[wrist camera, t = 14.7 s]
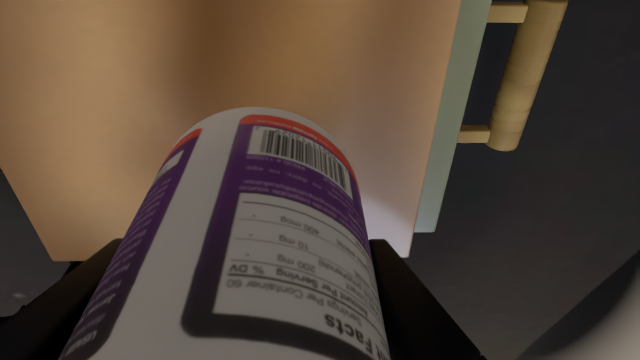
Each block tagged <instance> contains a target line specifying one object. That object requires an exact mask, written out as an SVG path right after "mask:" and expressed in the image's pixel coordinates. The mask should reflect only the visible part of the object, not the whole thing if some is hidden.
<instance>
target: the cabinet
mask: <svg viewBox="0 0 640 360" xmlns="http://www.w3.org/2000/svg"><path fill="white" fill-rule="evenodd" d="M460 5H461V0H0V167H1V169H2V171H3V173H4V174H5V176H6V178H7V180H8V182H9V183H10V185H11V187H12V189H13V191H14V192H15V194H16V196H17V198H18V200H19V201H20V203H21V205H22V207H23V208H24V210H25V212H26V214H27V216H28V217H29V219H30V221H31V223H32V225H33V226H34V228H35V230H36V232H37V234H38V235H39V237H40V239H41V241H42V243H43V244H44V246H45V248H46V250H47V252H48V253H49V255H50V257H51V259H52V260H53V261H86V260H87V259H88V258H90V257H91V256H92V255H94V254H95V253H96V252H97V251H99V250H100V249H101V248H103V247H104V246H105V245H107V244H108V243H109V242H111V241H112V240H114V239H116V238H124V236H125V234H126V232H127V230H128V228H129V226H130V224H131V223H132V221H133V219H134V217H135V215H136V213H137V211H138V210H139V208H140V206H141V204H142V202H143V200H144V198H145V196H146V194H147V192H148V190H149V189H150V187H151V185H152V183H153V181H154V179H155V177H156V175H157V173H158V171H159V170H160V168H161V166H162V164H163V162H164V161H165V159H166V157H167V156H168V154H169V153H170V151H171V150H172V148H173V146H174V145H175V144H176V142H177V141H178V140H179V139H180V138H181V136H182V135H183V134H184V133H186V132H187V131H188V130H189V129H190V128H192V127H193V126H194V125H196V124H197V123H199V122H200V121H202V120H204V119H206V118H208V117H210V116H212V115H214V114H216V113H219V112H222V111H226V110H230V109H235V108H243V107H269V108H276V109H281V110H286V111H289V112H292V113H296V114H298V115H301V116H303V117H305V118H307V119H309V120H311V121H312V122H314V123H316V124H317V125H319V126H320V127H322V128H323V129H324V130H326V131H327V132H328V133H329V134H330V135H331V136H332V137H333V138H334V139H335V140H336V141H337V142H338V143H339V144H340V145H341V146H342V148H343V149H344V151H345V152H346V154H347V156H348V157H349V159H350V161H351V164H352V166H353V168H354V172H355V175H356V179H357V183H358V187H359V191H360V197H361V202H362V207H363V213H364V218H365V224H366V229H367V234H368V239H369V240H370V239H385V240H386V241H387V242H388V243H389V244H390V245H391V246H392V247H393V249H394V250H395V251H396V252H397V253H398V255H399V256H400V257H401V258H404V257H409V253H410V248H411V243H412V238H413V233H414V228H415V224H416V219H417V214H418V209H419V204H420V199H421V194H422V190H423V185H424V180H425V175H426V170H427V165H428V160H429V156H430V151H431V146H432V141H433V136H434V131H435V126H436V122H437V117H438V112H439V107H440V102H441V97H442V92H443V88H444V83H445V78H446V73H447V68H448V63H449V58H450V54H451V49H452V44H453V39H454V34H455V29H456V24H457V19H458V15H459V10H460Z"/></svg>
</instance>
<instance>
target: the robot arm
mask: <svg viewBox="0 0 640 360" xmlns="http://www.w3.org/2000/svg"><path fill="white" fill-rule="evenodd" d="M122 240H123V238H116V239H114V240H112V241H111V242H109V243H108V244H107V245H105V246H104V247H103V248H101V249H100V250H99V251H97V252H96V253H95V254H94V255H92V256H91V257H90V258H88V259H87V260H86V261H69V262H70V266H69V267H68V269H67V270H66V272H65V274H64V275H63V277H62V278H61V279H60V280H59V281H58V282H57V283H55V284H54V285H53V286H51V287H50V288H49V289H47V290H46V291H45V292H43V293H42V294H41V295H39V296H38V297H37V298H35V299H34V300H33V301H31V302H30V303H29V304H27V305H26V306H25V305H23V306H22V307H21V309H20V310H19V311H18V312H17V313H16V314H14V315H12V316H7V317H0V360H58V359H59V357H60V355H61V353H62V351H63V349H64V347H65V345H66V343H67V341H68V340H69V338H70V336H71V334H72V333H73V331H74V329H75V327H76V325H77V324H78V322H79V320H80V318H81V316H82V314H83V312H84V310H85V308H86V307H87V305H88V303H89V301H90V299H91V297H92V296H93V294H94V292H95V290H96V288H97V286H98V285H99V283H100V281H101V279H102V277H103V275H104V273H105V271H106V270H107V268H108V266H109V264H110V262H111V260H112V259H113V257H114V255H115V253H116V251H117V249H118V247H119V245H120V243H121V241H122ZM369 245H370V251H371V256H372V262H373V267H374V274H375V278H376V284H377V289H378V296H379V301H380V306H381V311H382V316H383V322H384V327H385V332H386V337H387V342H388V347H389V352H390V358H391V360H487V359H486V358H485V357H484V356H483V355H481V352H480V351H479V350H478V349H477V347H476V346H475V345H474V344H473V343H472V341H471V340H470V339H469V338H468V337H467V336H466V334H465V333H464V332H463V331H462V330H461V328H460V327H459V326H458V325H457V324H456V322H455V321H454V320H453V319H452V318H451V316H450V315H449V314H448V313H447V312H446V311H445V309H444V308H443V307H442V306H441V305H440V303H439V302H438V301H437V300H436V299H435V297H434V296H433V295H432V294H431V293H430V291H429V290H428V289H427V288H426V287H425V286H424V284H423V283H422V282H421V281H420V280H419V278H418V277H417V276H416V275H415V274H414V272H413V271H412V270H411V269H410V268H409V266H408V265H407V264H406V263H405V262H404V261H403V259H402V258H401V257H400V256H399V255H398V253H397V252H396V251H395V250H394V249H393V247H392V246H391V245H390V244H389V243H388V242H387V241H386V240H385V239H370V240H369ZM480 355H481V356H480Z"/></svg>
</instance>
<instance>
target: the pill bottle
mask: <svg viewBox="0 0 640 360" xmlns="http://www.w3.org/2000/svg"><path fill="white" fill-rule="evenodd" d="M58 360H391V358H390V352H389V347H388V342H387V337H386V332H385V327H384V322H383V316H382V311H381V306H380V301H379V296H378V289H377V284H376V278H375V274H374V267H373V262H372V256H371V251H370V245H369V239H368V234H367V229H366V224H365V218H364V213H363V207H362V202H361V197H360V191H359V187H358V183H357V179H356V175H355V172H354V168H353V166H352V164H351V161H350V159H349V157H348V156H347V154H346V152H345V151H344V149H343V148H342V146H341V145H340V144H339V143H338V142H337V141H336V140H335V139H334V138H333V137H332V136H331V135H330V134H329V133H328V132H327V131H326V130H324V129H323V128H322V127H320V126H319V125H317V124H316V123H314V122H312V121H311V120H309V119H307V118H305V117H303V116H301V115H298V114H296V113H292V112H289V111H286V110H281V109H276V108H269V107H243V108H235V109H230V110H226V111H222V112H219V113H216V114H214V115H212V116H210V117H208V118H206V119H204V120H202V121H200V122H199V123H197V124H196V125H194V126H193V127H192V128H190V129H189V130H188V131H187V132H186V133H184V134H183V135H182V136H181V138H180V139H179V140H178V141H177V142H176V144H175V145H174V146H173V148H172V150H171V151H170V153H169V154H168V156H167V157H166V159H165V161H164V162H163V164H162V166H161V168H160V170H159V171H158V173H157V175H156V177H155V179H154V181H153V183H152V185H151V187H150V189H149V190H148V192H147V194H146V196H145V198H144V200H143V202H142V204H141V206H140V208H139V210H138V211H137V213H136V215H135V217H134V219H133V221H132V223H131V224H130V226H129V228H128V230H127V232H126V234H125V236H124V238H123V240H122V241H121V243H120V245H119V247H118V249H117V251H116V253H115V255H114V257H113V259H112V260H111V262H110V264H109V266H108V268H107V270H106V271H105V273H104V275H103V277H102V279H101V281H100V283H99V285H98V286H97V288H96V290H95V292H94V294H93V296H92V297H91V299H90V301H89V303H88V305H87V307H86V308H85V310H84V312H83V314H82V316H81V318H80V320H79V322H78V324H77V325H76V327H75V329H74V331H73V333H72V334H71V336H70V338H69V340H68V341H67V343H66V345H65V347H64V349H63V351H62V353H61V355H60V357H59V359H58Z"/></svg>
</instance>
